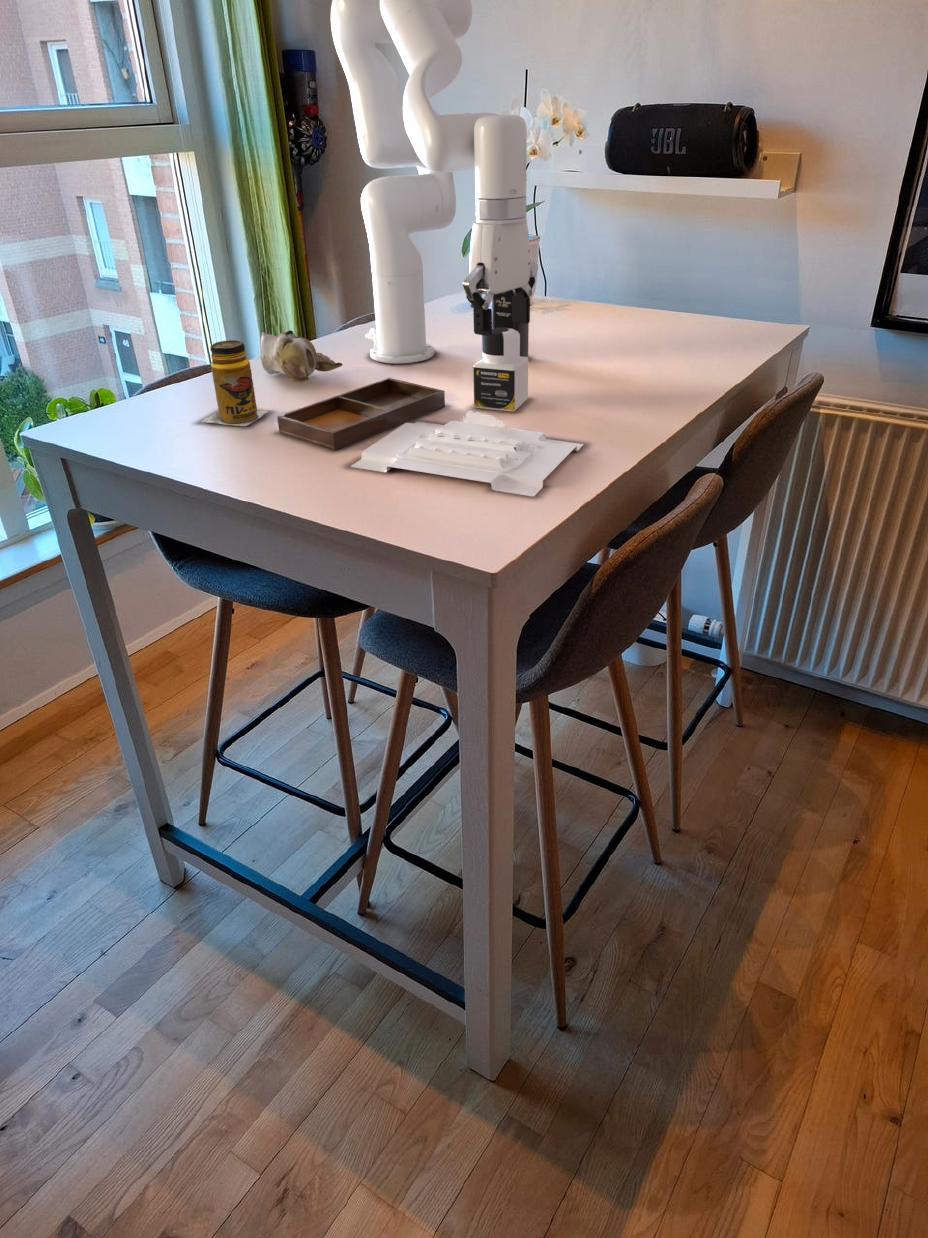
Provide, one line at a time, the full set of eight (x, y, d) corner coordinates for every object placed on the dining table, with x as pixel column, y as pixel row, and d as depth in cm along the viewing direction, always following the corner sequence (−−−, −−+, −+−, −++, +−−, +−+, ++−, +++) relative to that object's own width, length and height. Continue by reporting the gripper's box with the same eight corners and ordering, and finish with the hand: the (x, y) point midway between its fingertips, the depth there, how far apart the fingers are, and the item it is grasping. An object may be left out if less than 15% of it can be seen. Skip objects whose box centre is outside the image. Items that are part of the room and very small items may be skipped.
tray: (534, 496, 115) (534, 469, 113) (350, 474, 126) (346, 449, 124) (584, 443, 130) (584, 419, 128) (416, 427, 141) (414, 405, 139)
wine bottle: (516, 364, 166) (518, 188, 151) (490, 361, 169) (488, 187, 153) (530, 357, 170) (532, 184, 155) (504, 353, 173) (504, 183, 157)
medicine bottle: (473, 408, 146) (471, 333, 139) (488, 395, 151) (487, 323, 145) (514, 412, 143) (514, 337, 137) (528, 399, 149) (529, 326, 142)
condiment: (246, 427, 140) (234, 350, 134) (200, 422, 143) (186, 347, 136) (268, 412, 146) (258, 338, 140) (223, 408, 149) (211, 335, 142)
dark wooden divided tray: (279, 432, 138) (276, 416, 136) (390, 392, 154) (389, 377, 152) (335, 450, 131) (333, 432, 129) (445, 406, 147) (444, 390, 145)
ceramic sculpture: (281, 317, 166) (343, 331, 159) (286, 362, 170) (345, 378, 164) (240, 330, 158) (302, 345, 151) (245, 377, 163) (306, 395, 156)
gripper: (516, 202, 139) (516, 315, 148) (443, 215, 128) (448, 336, 137) (555, 205, 135) (553, 320, 144) (484, 218, 124) (486, 342, 133)
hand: (502, 328), depth 140 cm, fingers open, 9 cm apart
